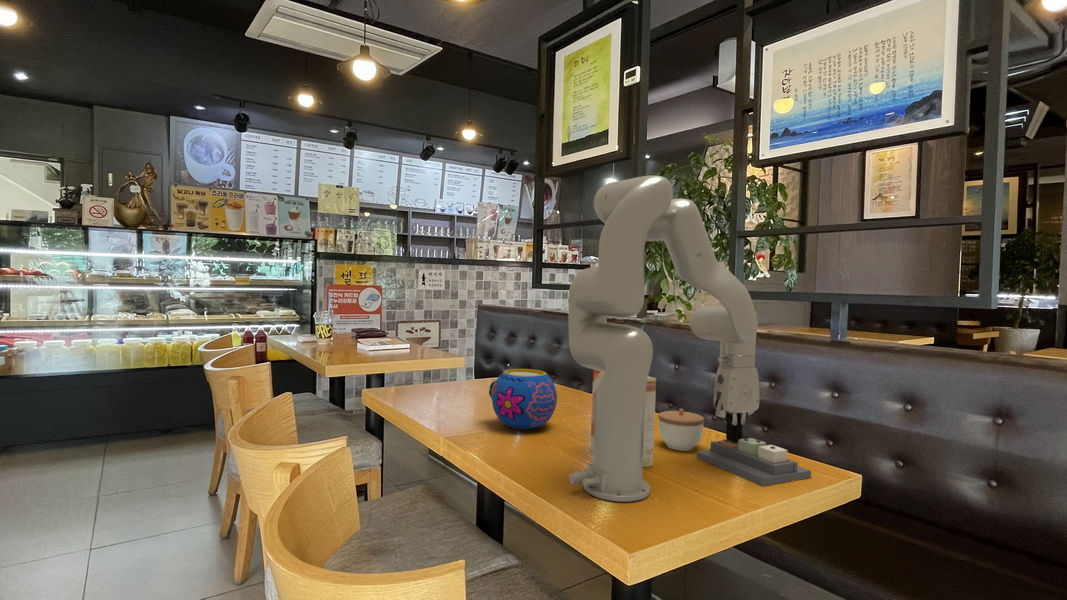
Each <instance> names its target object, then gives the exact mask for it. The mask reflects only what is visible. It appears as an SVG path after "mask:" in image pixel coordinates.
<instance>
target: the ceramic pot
mask: <svg viewBox="0 0 1067 600" xmlns="http://www.w3.org/2000/svg"><path fill="white" fill-rule="evenodd" d="M488 394H489V397H490V398H491V403H492V408H493V411H494V413H495V415H496V418H497V419H498V420H499V421H500V422H502V424H504V425H506V426H508V427H510V428H513V429H517V430H532V429H536V428H539V427H541V426H543V425H545V424H546V423H548V422H549V421H550V419H551V417H552V416H553V415H554V412H555V410H556V407H557V402H558V398H557V397H558V395H557V394H558V393H557V389H556V387H555V383H554V381H553V380H552V378H551V376H550V375H549V373H547V372H545V371H543V370H538V369H533V368H532V369H531V368H513V369H512V368H511V369H507V370H504V371H503V372H502V373H501V374H499V376H498V377H497V378H496V380H494V381H492V382H491V383H490V385H489V387H488Z"/></svg>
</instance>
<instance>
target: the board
mask: <svg viewBox="0 0 1067 600" xmlns="http://www.w3.org/2000/svg"><path fill="white" fill-rule="evenodd" d="M720 441H721V440H717V441H716V440H715V441H710V449H703V450H698V451H697V450H696V458H697V459H699V460H701V461H703V462H705V463H708V464H710V465H713V466H714V467H717V468H719V469H721V470H724V471H726V470H727V471H726V472H729V473H731V474H734V475H735V476H738V477H741V478H743V479H745V480H746V481H747V480H748V481H750V482H752V483H755V484H756V483H757V484H758V485H759V486H761V485H762V486H761V487H767V485H768V486H773V485H777V483H779V484H782V483H781V482H784V483H787V482H786V481H790V482H793V481H792V480H795V481H798V480H797V479H801V480H804V479H803V478H806V479H810V477H812V470H810V469H808V468H805V467H802V466H799V464H798V463H799V462H798V461H794V460H791V459H789V458H787V461H786V462H780V463H774V464H773V463H771V462H768V461H765V460H763V459H760V458H758V455H753V456H752V455H749V454H747V453H744V452H741V451H739V450H738V448H734V449H733V448H730V447H727V446H725V445H722V444H720Z"/></svg>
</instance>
